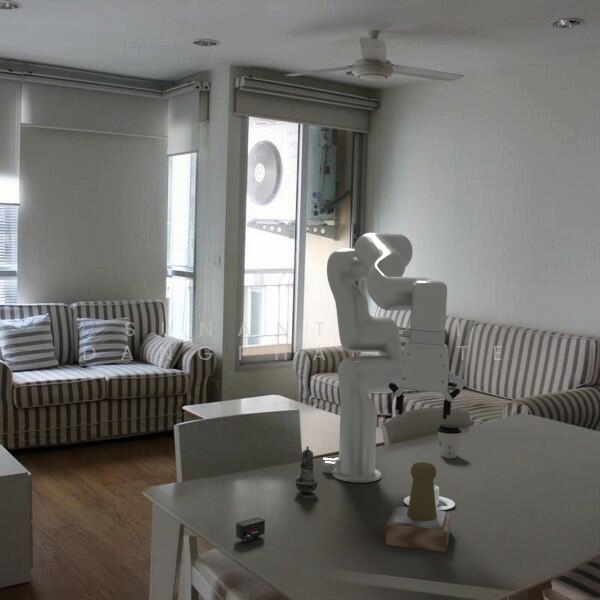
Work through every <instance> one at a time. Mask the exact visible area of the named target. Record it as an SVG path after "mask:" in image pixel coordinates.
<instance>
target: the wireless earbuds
mask: <svg viewBox="0 0 600 600" xmlns="http://www.w3.org/2000/svg"><path fill="white" fill-rule="evenodd" d="M265 532H266V519H264V518H262V517H260V516H259V517H258V516H256V517H252V518H248V519H245V520H241V521H238V522H236V524H235V537H236V538H237V539H239V540H241V541H243V542H244V543H248V542H251V541H253V538H257V537H259V536H263V535H265Z"/></svg>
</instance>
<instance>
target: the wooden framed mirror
mask: <svg viewBox="0 0 600 600" xmlns="http://www.w3.org/2000/svg"><path fill="white" fill-rule="evenodd" d="M407 513H408V507H406V506H398V507H393V509H392V511H391V514H390V516H389V519H388V521H387V523H386V529H385V530H386V531H385V532H386V533H385V536H386V537H385V545H386V546H394V547H402V548H412V549H419V550H420V549H421V550H428V551H437V552H445V553H446V552H448V544H449V539H450V533H451V519H452V517H451V514H452V513H450V512H447V510H436V515H437V518H436V519H434V520H431V521H420V520H415V519H412V518H409V517H408V516H407Z"/></svg>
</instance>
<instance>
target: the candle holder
mask: <svg viewBox="0 0 600 600" xmlns="http://www.w3.org/2000/svg"><path fill="white" fill-rule="evenodd" d="M434 493H435V504H436V511H447V510H450V509H453V508H454V507H455V506H456V503H455V502H454V500H452V499H450V498H447V497H444V496H442V495H441V496H440V487H439V486H438V485H434ZM409 501H410V496H409V495H408V496H407V497H404V499H403V503H404V504H405V505H407V506H409ZM440 501H441V502H443V503H445V505H446V506H445V505H444V506H443V505H439V504H440Z"/></svg>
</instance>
